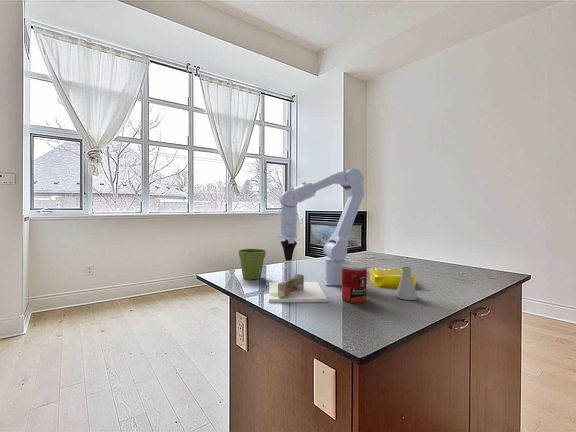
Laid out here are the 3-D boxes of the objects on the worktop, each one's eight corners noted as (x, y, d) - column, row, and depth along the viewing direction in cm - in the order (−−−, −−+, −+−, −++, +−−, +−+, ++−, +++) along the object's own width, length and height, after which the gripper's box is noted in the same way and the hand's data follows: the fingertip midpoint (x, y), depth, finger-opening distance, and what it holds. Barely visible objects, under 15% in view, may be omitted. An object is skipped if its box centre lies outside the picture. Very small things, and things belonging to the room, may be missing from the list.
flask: (417, 295, 102) (418, 265, 102) (418, 302, 95) (419, 270, 95) (394, 293, 105) (395, 264, 104) (394, 299, 98) (395, 268, 97)
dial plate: (317, 284, 114) (317, 281, 114) (326, 302, 94) (326, 298, 94) (269, 285, 113) (269, 281, 113) (268, 302, 93) (268, 298, 93)
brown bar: (296, 286, 106) (296, 273, 106) (305, 288, 104) (305, 275, 104) (275, 295, 96) (275, 281, 96) (285, 297, 94) (285, 283, 94)
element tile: (374, 287, 112) (375, 275, 112) (368, 278, 127) (369, 266, 127) (417, 289, 111) (417, 276, 110) (406, 279, 125) (406, 268, 125)
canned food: (352, 305, 92) (353, 269, 91) (336, 297, 99) (336, 264, 98) (371, 301, 95) (372, 266, 95) (354, 294, 102) (355, 262, 102)
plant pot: (265, 281, 118) (265, 253, 117) (234, 281, 118) (234, 252, 118) (268, 274, 130) (268, 248, 129) (240, 274, 130) (240, 248, 129)
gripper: (275, 222, 118) (275, 257, 119) (280, 225, 104) (279, 264, 105) (293, 222, 119) (293, 256, 120) (300, 225, 105) (300, 264, 106)
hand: (288, 260), depth 112 cm, fingers closed
